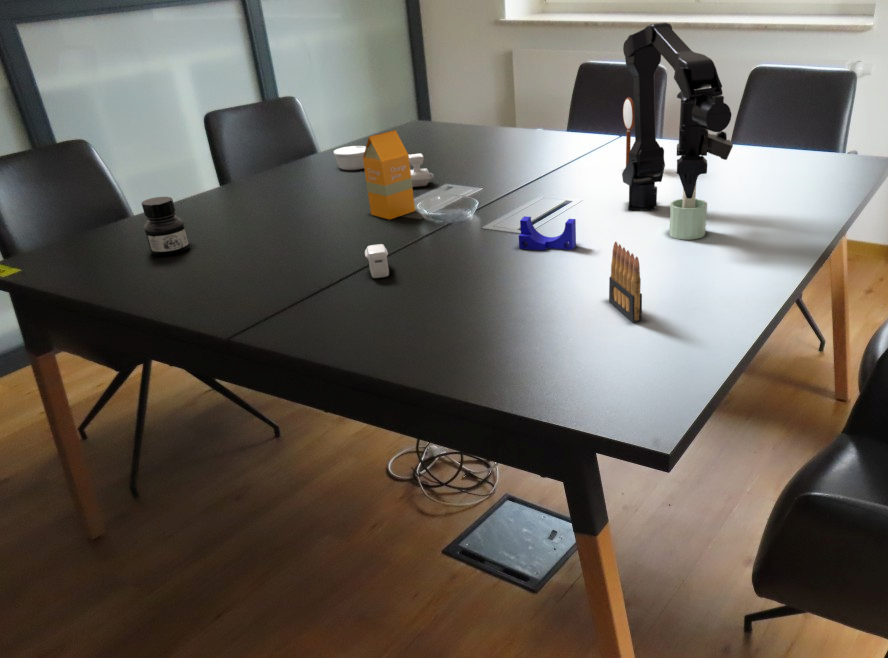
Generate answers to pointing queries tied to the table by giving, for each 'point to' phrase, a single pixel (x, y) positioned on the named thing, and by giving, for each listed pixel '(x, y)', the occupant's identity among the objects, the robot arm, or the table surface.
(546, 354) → the table surface
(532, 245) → the blue mounting bracket
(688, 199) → the glue stick
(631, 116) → the magnifying glass
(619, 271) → the ammunition clip
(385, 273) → the power adapter
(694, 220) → the pen holder
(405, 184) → the orange juice
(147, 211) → the ink bottle
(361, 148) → the ramekin
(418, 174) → the stamp
